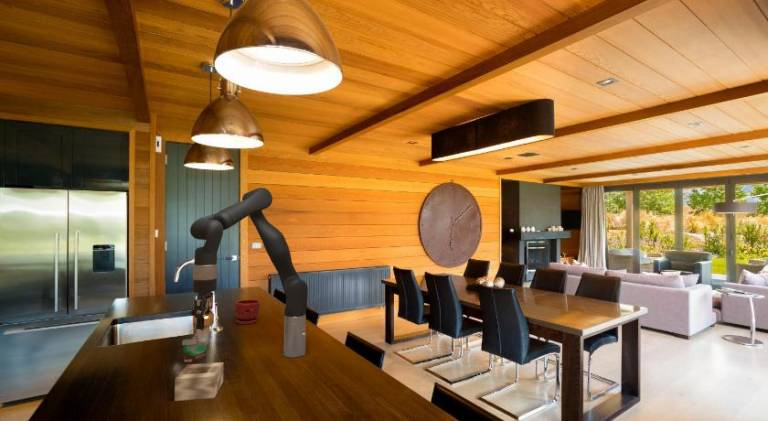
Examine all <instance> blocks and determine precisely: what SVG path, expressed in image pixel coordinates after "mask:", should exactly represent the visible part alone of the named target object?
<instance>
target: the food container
mask: <svg viewBox="0 0 768 421" xmlns="http://www.w3.org/2000/svg"><path fill="white" fill-rule="evenodd" d="M196 336H197V335H194V336H191V337H190V338H189V339H185V338H184V339H182V342H181V343H182V344H181V345H182V346H183V347H182V348H183V363H184V364H186V365H190V364H197V363H199V362H200V363H201V362H202V361H205V359H206V356H207V355H206V354H207V345H208V344H205V345H197V344H196Z"/></svg>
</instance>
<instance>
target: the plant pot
mask: <svg viewBox="0 0 768 421" xmlns="http://www.w3.org/2000/svg"><path fill="white" fill-rule="evenodd" d="M260 307H261V301H260V300H257V299H243V300H237V301H236V302H235V315H236V317H237V318H236V319H235V322H236V323H237V324H240V325H251V324H254V323H256V322H257V321H258V315H259V313H260Z"/></svg>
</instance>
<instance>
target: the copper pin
mask: <svg viewBox="0 0 768 421" xmlns="http://www.w3.org/2000/svg"><path fill="white" fill-rule="evenodd" d="M199 314H201V312H199ZM214 322H215V313H213V312H209V313H205V317H204V328H203V329H197V328H196V335H195V336H196V344H197V345H205V344H207V345H208V344H209V343H210V333H211V332H210V331H211V325H213V324H214ZM192 326H194V327H196V326H197V318H196V317H194V314H193V315H192Z"/></svg>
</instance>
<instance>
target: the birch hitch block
mask: <svg viewBox="0 0 768 421" xmlns="http://www.w3.org/2000/svg"><path fill="white" fill-rule="evenodd" d="M223 382H224V362H209V363H190V364H186V366H185V367H184V368H183V369H182V370H181V372H179V374H178V375H177V376H176V378H175V379H174V402H178V401H180V402H181V401H193V400H205V399H206V400H207V399H215V397H216V396H217V394H218V392H219V390H220V388H221V386H222V385H223Z"/></svg>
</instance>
